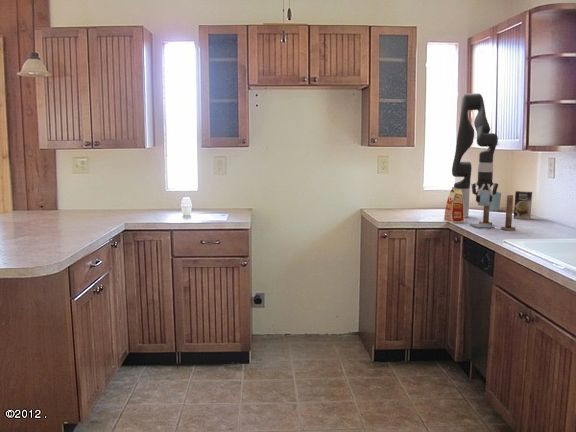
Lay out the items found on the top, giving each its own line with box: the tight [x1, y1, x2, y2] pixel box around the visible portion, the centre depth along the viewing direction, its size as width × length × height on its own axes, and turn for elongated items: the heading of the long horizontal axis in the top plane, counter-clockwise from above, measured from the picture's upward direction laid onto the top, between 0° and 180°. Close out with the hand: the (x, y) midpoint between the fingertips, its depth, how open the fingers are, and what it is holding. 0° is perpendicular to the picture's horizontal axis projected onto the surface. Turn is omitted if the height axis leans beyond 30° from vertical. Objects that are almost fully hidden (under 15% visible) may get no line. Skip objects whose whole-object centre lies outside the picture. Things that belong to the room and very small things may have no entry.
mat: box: [469, 223, 495, 229], centre depth 305 cm, size 10×10×1 cm
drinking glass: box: [489, 191, 502, 213], centre depth 368 cm, size 10×10×12 cm
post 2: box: [500, 194, 516, 231], centre depth 296 cm, size 7×7×18 cm
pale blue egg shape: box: [477, 190, 490, 207], centre depth 302 cm, size 6×6×8 cm
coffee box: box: [513, 190, 533, 221], centre depth 334 cm, size 9×6×16 cm
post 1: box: [478, 203, 493, 226], centre depth 311 cm, size 7×7×18 cm
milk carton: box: [443, 186, 465, 224], centre depth 322 cm, size 9×9×20 cm
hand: (483, 202), depth 303 cm, fingers closed on pale blue egg shape, 5 cm apart
